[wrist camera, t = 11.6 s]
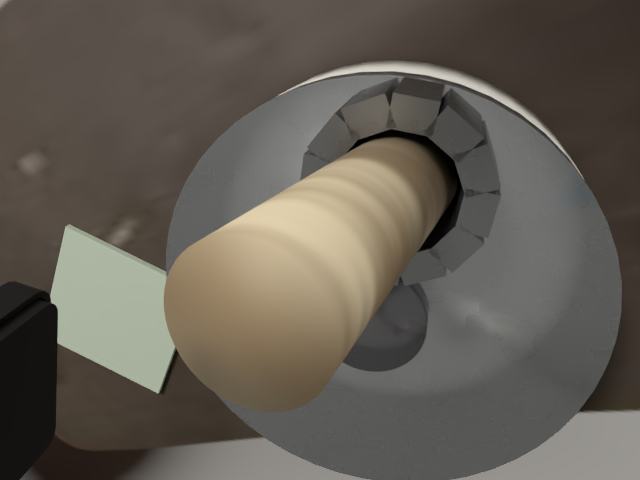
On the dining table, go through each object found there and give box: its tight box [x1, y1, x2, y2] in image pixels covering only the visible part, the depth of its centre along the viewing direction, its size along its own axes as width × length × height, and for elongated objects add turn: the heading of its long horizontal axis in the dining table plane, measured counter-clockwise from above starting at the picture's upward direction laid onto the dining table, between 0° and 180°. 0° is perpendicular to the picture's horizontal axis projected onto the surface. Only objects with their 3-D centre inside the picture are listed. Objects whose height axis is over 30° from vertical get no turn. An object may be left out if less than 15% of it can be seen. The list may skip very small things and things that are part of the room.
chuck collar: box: [166, 71, 622, 480], centre depth 26 cm, size 21×21×6 cm
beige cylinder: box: [164, 129, 461, 412], centre depth 18 cm, size 4×4×14 cm
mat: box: [50, 224, 176, 393], centre depth 38 cm, size 9×9×1 cm
